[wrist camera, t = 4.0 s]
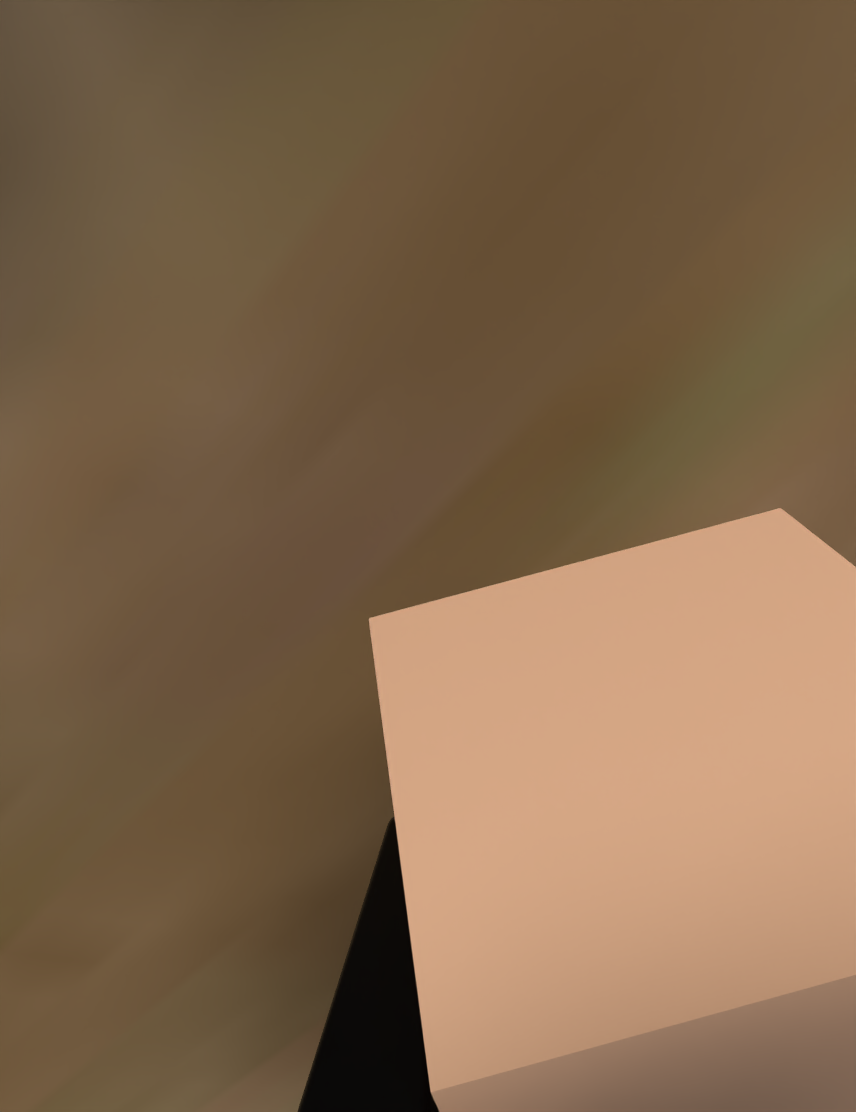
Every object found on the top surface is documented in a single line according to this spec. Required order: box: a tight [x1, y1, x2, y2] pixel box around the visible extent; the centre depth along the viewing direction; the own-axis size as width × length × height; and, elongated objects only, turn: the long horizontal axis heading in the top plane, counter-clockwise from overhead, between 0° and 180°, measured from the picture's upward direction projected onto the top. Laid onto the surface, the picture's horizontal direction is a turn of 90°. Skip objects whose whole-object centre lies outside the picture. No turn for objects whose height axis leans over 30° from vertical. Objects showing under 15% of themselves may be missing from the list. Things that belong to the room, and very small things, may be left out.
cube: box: [369, 508, 856, 1112], centre depth 8 cm, size 5×5×5 cm
